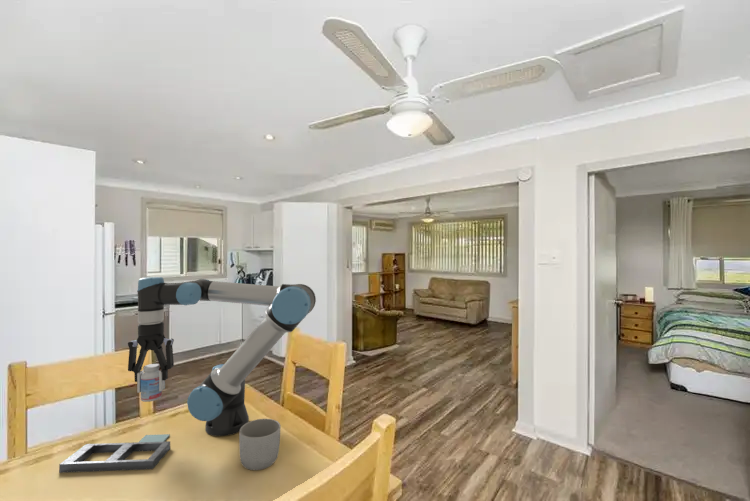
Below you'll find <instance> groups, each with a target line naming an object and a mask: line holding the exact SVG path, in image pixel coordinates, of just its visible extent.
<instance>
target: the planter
mask: <svg viewBox="0 0 750 501" xmlns="http://www.w3.org/2000/svg"><path fill="white" fill-rule="evenodd" d="M238 433H239V436H238V437H239V438H238V439H239V442H238V443H239V459H240V460H239V461H240V464H241V465H242V467H243V468H244V469H247V470H250V471H261V470H265V469H267V468H269V467H271V466H272V465H273V464H274V463H275V462H276V460H277V459H278V456H279V452H280V443H281V442H280V441H281V424H280V422H279V421H278V420H276V419H272V418H257V419H254V420H249V422H248V423H246V424H244V425H243V426H242V427H241V428H240V430H239V432H238Z"/></svg>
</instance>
